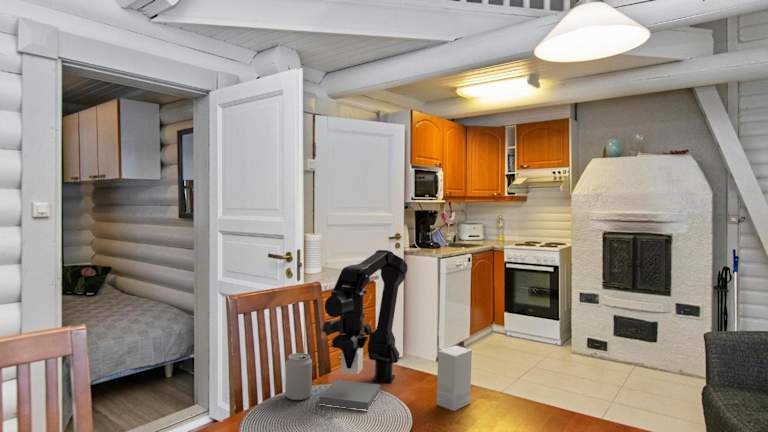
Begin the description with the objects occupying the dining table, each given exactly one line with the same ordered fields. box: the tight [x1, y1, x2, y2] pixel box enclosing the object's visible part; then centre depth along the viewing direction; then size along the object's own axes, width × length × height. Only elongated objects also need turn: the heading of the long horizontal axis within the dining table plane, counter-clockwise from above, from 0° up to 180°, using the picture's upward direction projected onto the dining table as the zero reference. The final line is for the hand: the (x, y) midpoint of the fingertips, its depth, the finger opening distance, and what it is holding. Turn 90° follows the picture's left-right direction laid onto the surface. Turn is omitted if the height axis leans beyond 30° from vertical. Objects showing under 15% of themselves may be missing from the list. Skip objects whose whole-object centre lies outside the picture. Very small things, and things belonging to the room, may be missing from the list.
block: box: [340, 347, 364, 375], centre depth 133 cm, size 5×5×6 cm
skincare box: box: [436, 345, 473, 412], centre depth 131 cm, size 8×7×16 cm
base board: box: [318, 379, 382, 410], centre depth 133 cm, size 14×14×2 cm
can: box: [284, 352, 313, 401], centre depth 134 cm, size 8×8×12 cm
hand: (351, 365), depth 133 cm, fingers closed on block, 5 cm apart
